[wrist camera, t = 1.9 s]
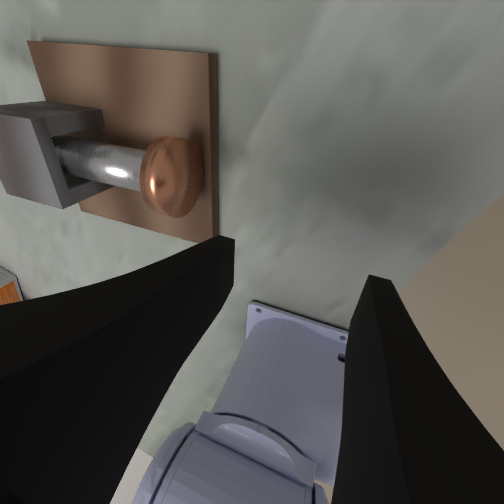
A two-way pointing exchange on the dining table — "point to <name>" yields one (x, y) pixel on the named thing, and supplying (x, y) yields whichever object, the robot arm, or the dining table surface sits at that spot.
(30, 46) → the stand
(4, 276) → the skincare box
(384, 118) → the dining table surface
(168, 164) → the shaft
